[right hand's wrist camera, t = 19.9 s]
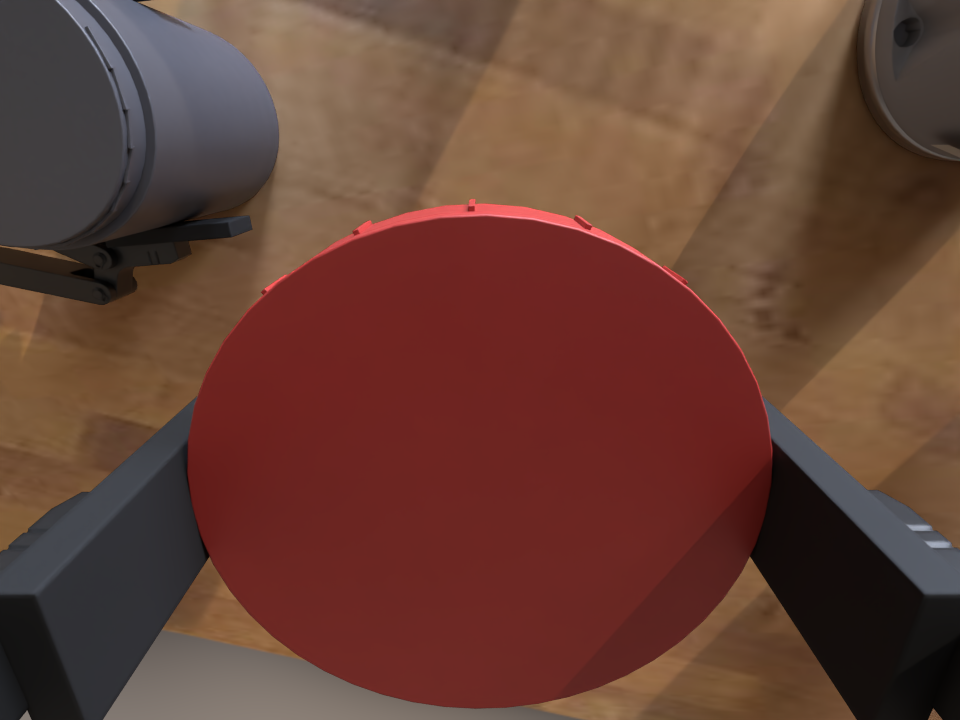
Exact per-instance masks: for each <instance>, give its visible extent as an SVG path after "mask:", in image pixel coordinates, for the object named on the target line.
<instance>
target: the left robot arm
mask: <svg viewBox="0 0 960 720" xmlns="http://www.w3.org/2000/svg"><path fill="white" fill-rule="evenodd" d="M133 1H136V2H139V1H149V0H133ZM249 230H252V225H251V221H250V217H249V216H238V217H227V218H215V219H204V220H192V221H182V222H178V223H174V224H170V225H166V226H163V227H159V228H155V229H151V230H147V231H143V232H139V233H136V234H132V235H128V236H124V237H120V238H116V239H112V240H109V241H105V242H101V243H97V244H93V245H89V246H85V247H80V248H76V249H68V250H54V251H56V252H58V253H61V254H63V255H65V256H67V257H70V258H72V259H74V260H77V261H79V262H81V263H84V264H81V263H76V262H71V261H67V260H62V259H57V258H52V257H48V256H43V255H38V254H33V253H29V252H24V251H19V250H14V249H10V248H3V247H0V284H1V285H6V286H11V287H16V288H21V289H26V290H31V291H35V292H40V293H45V294H50V295H55V296H60V297H65V298H70V299H75V300H79V301H84V302H89V303H94V304H99V305H105V304H107V303H109V302H112V301H115V300H117V299H119V298H122V297H124V296H126V295H128V294H130V293H133V292H135V290H136V289H137V281H136V280H135V278H134V277H133V269H134V267H136V266H148V265H159V264H171V263H173V262H176V261H178V260H181V259H184V258H185V257H187V256H189V255H191V254H192V253H191V250H190V246H189V242H188V241H193V240H205V239H216V238H228V237H233V236H236V235H239V234H241V233H244V232H247V231H249Z"/></svg>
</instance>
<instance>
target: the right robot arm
mask: <svg viewBox="0 0 960 720" xmlns="http://www.w3.org/2000/svg"><path fill="white" fill-rule="evenodd" d="M857 65H858V75H859V80H860V85H861V89H862V92H863V96H864V99H865V101H866V104H867V106H868V108H869V110H870V112H871V114H872V116H873V117H874V119H875V121H876V122H877V123H878V125H879V126H880V127H881V129H882V130H883V131H884V132H885V133H886V134H887V135H888V136H889V137H890V138H891V139H893V140H894V141H895V142H896V143H898V144H899V145H901V146H902V147H904V148H906V149H907V150H909V151H911V152H914V153H916V154H918V155H921V156H925V157H928V158H933V159H938V160H949V161H960V0H865V3H864V7H863V11H862V15H861V20H860V25H859V32H858V42H857ZM761 396H762V395H761ZM197 397H198V396H197ZM197 397H196V398H195V399H194V400H192V401H191V402H190V403H189V404H188V405H187V406H186V407H185V408H184V409H182V410H181V411H180V412H179V413H178V414H177V415H176V416H175V417H173V418H172V419H171V420H170V421H169V422H168V423H167V424H166V425H165V426H163V427H162V428H161V429H160V430H159V431H158V432H157V433H156V434H154V435H153V436H152V437H151V438H150V439H149V440H148V441H147V442H146V443H144V444H143V445H142V446H141V447H140V448H139V449H138V450H137V451H135V452H134V453H133V454H132V455H131V456H130V457H129V458H128V459H127V460H125V461H124V462H123V463H122V464H121V465H120V466H119V467H118V468H116V469H115V470H114V471H113V472H112V473H111V474H110V475H109V476H108V477H106V478H105V479H104V480H103V481H102V482H101V483H100V484H99V485H98V486H96V487H95V488H94V489H93V490H92V491H91V492H81V493H79V494H78V495H76V496H74V497H72V498H70V499H69V500H67V501H65V502H63V503H61V504H59V505H58V506H56V507H54V508H52V509H51V510H50V511H48V512H47V513H46V514H45V515H44V516H43V517H41V518H40V519H39V520H38V521H37V522H36V523H34V524H33V525H32V526H31V527H30V528H29V529H28V532H27V533H23V534H21V535H20V536H19V537H18V538H17V539H16V540H14V541H13V542H12V543H11V544H10V545H9V548H8V550H3V551H2V552H0V720H20V718H21V717H22V716H23V714H24V713H25V712H26V711H27V710H28V713H29V715H30V717H31V719H32V720H103V719H104V717H105V715H106V714H107V712H108V711H109V709H110V708H111V706H112V705H113V703H114V702H115V700H116V699H117V697H118V696H119V694H120V692H121V691H122V689H123V688H124V686H125V685H126V683H127V682H128V680H129V679H130V677H131V676H132V674H133V673H134V671H135V670H136V668H137V667H138V665H139V663H140V662H141V660H142V659H143V657H144V656H145V654H146V653H147V651H148V650H149V648H150V647H151V645H152V644H153V642H154V641H155V639H156V637H157V636H158V634H159V633H160V631H161V630H162V628H163V627H164V625H165V624H166V622H167V621H168V619H169V618H170V616H171V615H172V613H173V611H174V610H175V608H176V607H177V605H178V604H179V602H180V601H181V599H182V598H183V596H184V595H185V593H186V592H187V590H188V589H189V587H190V585H191V584H192V582H193V581H194V579H195V578H196V576H197V575H198V573H199V572H200V570H201V569H202V567H203V566H204V564H205V563H206V561H207V559H208V558H209V554H208V552H207V549H206V547H205V545H204V543H203V541H202V538H201V536H200V533H199V530H198V526H197V522H196V518H195V515H194V511H193V507H192V502H191V497H190V491H189V484H188V476H187V456H188V437H189V431H190V426H191V420H192V415H193V410H194V405H195V402H196V399H197ZM762 399H763V402H764V405H765V409H766V412H767V415H768V422H769V429H770V437H771V444H772V483H771V489H770V494H769V499H768V503H767V508H766V512H765V517H764V520H763V524H762V527H761V530H760V533H759V536H758V539H757V542H756V545H755V547H754V549H753V551H752V553H751V555H750V557H751V558H752V560H753V562H754V563H755V565H756V566H757V568H758V569H759V571H760V572H761V574H762V575H763V577H764V578H765V580H766V581H767V583H768V584H769V586H770V588H771V589H772V591H773V592H774V594H775V595H776V597H777V598H778V600H779V601H780V603H781V604H782V606H783V607H784V609H785V610H786V612H787V614H788V615H789V617H790V618H791V620H792V621H793V623H794V624H795V626H796V627H797V629H798V630H799V632H800V633H801V635H802V636H803V638H804V640H805V641H806V643H807V644H808V646H809V647H810V649H811V650H812V652H813V653H814V655H815V656H816V658H817V659H818V661H819V662H820V664H821V666H822V667H823V669H824V670H825V672H826V673H827V675H828V676H829V678H830V679H831V681H832V682H833V684H834V685H835V687H836V688H837V690H838V692H839V693H840V695H841V696H842V698H843V699H844V701H845V702H846V704H847V705H848V707H849V708H850V710H851V711H852V713H853V714H854V716H855V718H856V719H857V720H928V718H929V716H930V714H931V711H932V709H933V708H934V709H935V711H936V712H937V713H938V714H939V716H940V717H941V718H942V719H943V720H960V550H959V549H958V548H953V547H952V543H951V542H949V541H948V540H947V539H946V538H945V537H944V536H942V535H941V534H940V533H939V532H938V531H933V530H932V526H931V525H929V524H928V523H927V522H926V521H925V520H924V519H922V518H921V517H920V516H919V515H918V514H916V513H915V512H914V511H913V510H912V509H911V508H909V507H908V506H906V505H904V504H902V503H901V502H899V501H897V500H895V499H893V498H891V497H890V496H888V495H886V494H884V493H882V492H881V491H879V490H867V489H865V488H864V487H863V486H862V485H861V484H860V483H859V482H858V481H857V480H855V479H854V478H853V477H852V476H851V475H850V474H849V473H848V472H846V471H845V470H844V469H843V468H842V467H841V466H840V465H839V464H838V463H836V462H835V461H834V460H833V459H832V458H831V457H830V456H829V455H827V454H826V453H825V452H824V451H823V450H822V449H821V448H820V447H819V446H817V445H816V444H815V443H814V442H813V441H812V440H811V439H810V438H808V437H807V436H806V435H805V434H804V433H803V432H802V431H801V430H800V429H798V428H797V427H796V426H795V425H794V424H793V423H792V422H791V421H790V420H788V419H787V418H786V417H785V416H784V415H783V414H782V413H781V412H779V411H778V410H777V409H776V408H775V407H774V406H773V405H772V404H771V403H769V402H768V401H767V400H766V399H765V398H764V397H763V396H762Z"/></svg>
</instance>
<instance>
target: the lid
mask: <svg viewBox="0 0 960 720" xmlns="http://www.w3.org/2000/svg"><path fill="white" fill-rule="evenodd" d="M687 283H688V282H687V281H686V280H685V279H684V278H682V277H681V276H679V275H678V274H676V273H675V272H673V271H672V270H670V269H669V268H667V267H666V266H663V267H660V266H659V265H658V264H656V263H655V262H653V261H652V260H650V259H649V258H647V257H646V256H645V255H643V254H642V253H640V252H639V251H637V250H636V249H634V248H633V247H631V246H629V245H627V244H625V243H624V242H622V241H620V240H618V239H616V238H614V237H613V236H611V235H609V234H607V233H605V232H604V231H602V230H600V229H597V228H594V227H592V225H591V224H590V223H588V222H587V221H586V220H584V219H583V218H581V217H580V216H577V215H576V216H575V218H574V220H573V219H571V218H568V217H566V216H562V215H558V214H553V213H549V212H545V211H540V210H536V209H531V208H527V207H518V206H507V205H495V204H475V199H470V200H469V204H468V205H447V206H441V207H435V208H430V209H425V210H419V211H414V212H408V213H405V214H402V215H399V216H396V217H393V218H390V219H387V220H384V221H381V222H378V223H375V224H372V223H371V221H370V220H369V221H367V222H365V223H364V224H362V225H361V226H359V227H358V228H356V229H355V230H353V234H351V235H349V236H347V237H345V238H343V239H341V240H339V241H337V242H335V243H334V244H332V245H331V246H329V247H328V248H326V249H325V250H323V251H322V252H320V253H319V254H317V255H316V256H315V257H313V258H312V259H310V260H309V261H307V262H306V263H304V264H303V265H301V266H300V267H299V268H297V269H296V270H294V271H293V272H291V273H290V274H288V275H284V276H283V277H281V278H280V279H278V280H277V281H275V282H274V283H272V284H271V285H269V286H268V287H266V288H265V289H264V290H263V291H262V292H261V293H262V294H263V296H262V297H261V298H260V299H259V300H258V301H257V302H256V303H255V304H254V305H252V306H251V307H250V308H249V309H248V310H247V312H246V313H245V314H244V315H243V317H242V318H241V319H240V321H239V322H238V323H237V324H236V326H235V327H234V328H233V329H232V331H231V332H230V333H229V335H228V336H227V337H226V338H225V340H224V341H223V343H222V345H221V347H220V349H219V350H218V352H217V354H216V356H215V358H214V359H213V361H212V363H211V365H210V367H209V368H208V370H207V372H206V374H205V377H204V380H203V383H202V386H201V388H200V391H199V394H198V397H197V399H196V402H195V405H194V410H193V415H192V420H191V426H190V431H189V437H188V456H187V476H188V484H189V491H190V497H191V502H192V507H193V511H194V515H195V518H196V522H197V526H198V530H199V533H200V536H201V538H202V541H203V543H204V545H205V547H206V549H207V552H208V554H209V556H210V558H211V560H212V563H213V565H214V566H215V568H216V569H217V571H218V573H219V574H220V576H221V577H222V579H223V581H224V582H225V584H226V585H227V587H228V588H229V590H230V591H231V593H232V594H233V595H234V596H235V597H236V599H237V600H238V601H239V602H240V603H241V605H242V606H243V607H244V608H245V610H246V611H247V612H248V613H249V614H250V615H251V616H252V617H253V618H254V619H255V620H256V621H257V622H258V623H259V624H260V625H261V626H262V627H263V628H264V629H265V630H266V631H268V632H269V633H270V634H271V635H272V636H273V637H274V638H276V639H277V640H278V641H280V642H281V643H282V644H283V645H285V646H286V647H287V648H289V649H290V650H291V651H293V652H294V653H295V654H297V655H298V656H300V657H302V658H303V659H305V660H307V661H308V662H310V663H312V664H313V665H315V666H317V667H318V668H320V669H322V670H323V671H325V672H328V673H330V674H332V675H334V676H336V677H338V678H340V679H343V680H345V681H347V682H349V683H351V684H354V685H356V686H359V687H362V688H365V689H368V690H371V691H374V692H376V693H379V694H382V695H386V696H390V697H394V698H398V699H402V700H406V701H410V702H416V703H422V704H429V705H436V706H443V707H457V708H474V709H476V708H507V707H515V706H523V705H531V704H539V703H543V702H548V701H552V700H557V699H561V698H566V697H570V696H573V695H576V694H579V693H582V692H586V691H589V690H592V689H595V688H598V687H600V686H603V685H605V684H607V683H610V682H612V681H614V680H617V679H619V678H621V677H624V676H626V675H628V674H630V673H632V672H633V671H635V670H637V669H639V668H641V667H642V666H644V665H646V664H648V663H650V662H651V661H653V660H655V659H656V658H658V657H659V656H661V655H662V654H663V653H665V652H666V651H668V650H669V649H670V648H672V647H673V646H675V645H676V644H678V643H679V642H680V641H681V640H683V639H684V638H685V637H686V636H687V635H688V634H689V633H690V632H692V631H693V630H694V629H695V628H696V627H697V626H698V625H700V624H701V623H702V622H703V621H704V620H705V619H706V618H707V616H708V615H709V614H710V613H711V612H712V611H713V610H714V609H715V607H716V606H717V605H718V604H719V603H720V602H721V601H722V600H723V598H724V597H725V596H726V594H727V593H728V591H729V590H730V588H731V587H732V585H733V584H734V583H735V581H736V580H737V578H738V577H739V575H740V574H741V572H742V570H743V568H744V566H745V565H746V563H747V561H748V559H749V557H750V555H751V553H752V551H753V549H754V547H755V545H756V542H757V539H758V536H759V533H760V530H761V527H762V524H763V520H764V517H765V512H766V508H767V503H768V499H769V494H770V489H771V483H772V444H771V437H770V429H769V422H768V415H767V412H766V409H765V405H764V402H763V399H762V396H761V392H760V389H759V386H758V382H757V380H756V378H755V376H754V374H753V372H752V370H751V368H750V366H749V364H748V362H747V360H746V358H745V356H744V354H743V352H742V350H741V348H740V347H739V346H738V344H737V343H736V341H735V340H734V339H733V337H732V336H731V334H730V333H729V332H728V330H727V329H726V327H725V326H724V324H723V323H722V322H721V320H720V319H719V318H718V317H717V316H716V315H715V314H714V313H713V312H712V311H711V310H710V309H709V307H708V306H707V305H706V304H705V303H704V302H703V301H702V300H701V299H700V298H699V297H698V296H697V295H696V294H695V293H694V292H693V291H692V290H691V289H690V288H688V287H687V286H686V284H687Z"/></svg>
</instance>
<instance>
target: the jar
mask: <svg viewBox="0 0 960 720" xmlns="http://www.w3.org/2000/svg"><path fill="white" fill-rule="evenodd" d="M278 144H279V129H278V120H277V115H276V110H275V107H274V104H273V101H272V98H271V95H270V93H269V91H268V89H267V86H266V85H265V83H264V81H263V80H262V78H261V76H260V74H259V73H258V72H257V70H256V69H255V68H254V66H253V65H252V64H251V63H250V62H249V60H248V59H247V58H246V57H245V56H244V55H243V54H242V53H241V52H240V51H238V50H237V49H236V48H235V47H234V46H233V45H231V44H230V43H228V42H227V41H225V40H224V39H222V38H221V37H219V36H217V35H215V34H213V33H211V32H209V31H206V30H204V29H201V28H199V27H197V26H194V25H192V24H189V23H187V22H184V21H182V20H179V19H177V18H175V17H172V16H170V15H167V14H165V13H162V12H160V11H158V10H155V9H153V8H150V7H148V6H145V5H143V4H140V3H138V2H136V1H133V0H0V245H2V246H8V247H20V248H29V249H34V250H38V249H44V250H68V249H76V248H80V247H85V246H89V245H93V244H97V243H101V242H105V241H109V240H112V239H116V238H120V237H124V236H128V235H132V234H136V233H139V232H143V231H147V230H151V229H155V228H159V227H163V226H166V225H170V224H174V223H178V222H182V221H186V220H190V219H193V218H197V217H201V216H205V215H209V214H213V213H216V212H220V211H224V210H228V209H231V208H234V207H236V206H239V205H241V204H242V203H244V202H246V201H248V200H249V199H250V198H251V197H253V196H254V195H255V194H256V193H257V192H258V191H259V190H260V189H261V188H262V187H263V185H264V184H265V182H266V181H267V179H268V178H269V176H270V174H271V172H272V170H273V167H274V164H275V161H276V157H277V152H278Z"/></svg>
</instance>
